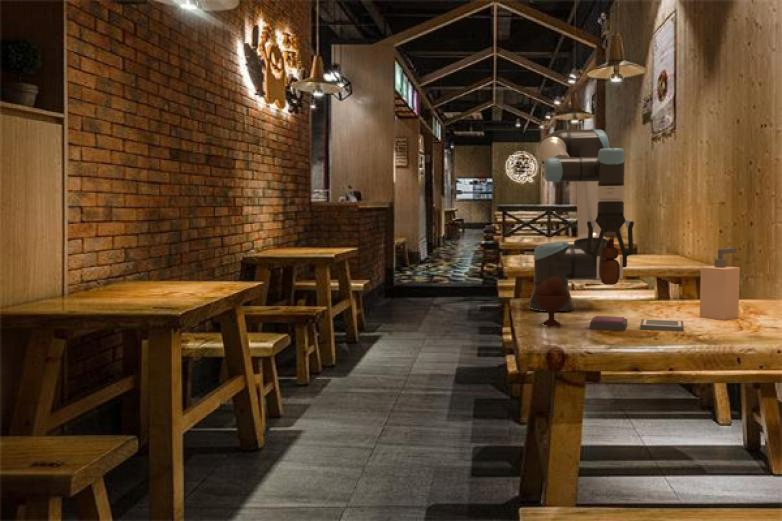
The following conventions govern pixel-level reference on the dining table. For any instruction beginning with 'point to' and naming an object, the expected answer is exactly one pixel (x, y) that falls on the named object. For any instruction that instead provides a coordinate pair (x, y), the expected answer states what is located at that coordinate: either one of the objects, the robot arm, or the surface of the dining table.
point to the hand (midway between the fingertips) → (609, 278)
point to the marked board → (662, 325)
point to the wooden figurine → (610, 264)
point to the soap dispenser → (720, 289)
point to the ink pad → (608, 323)
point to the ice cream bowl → (551, 298)
